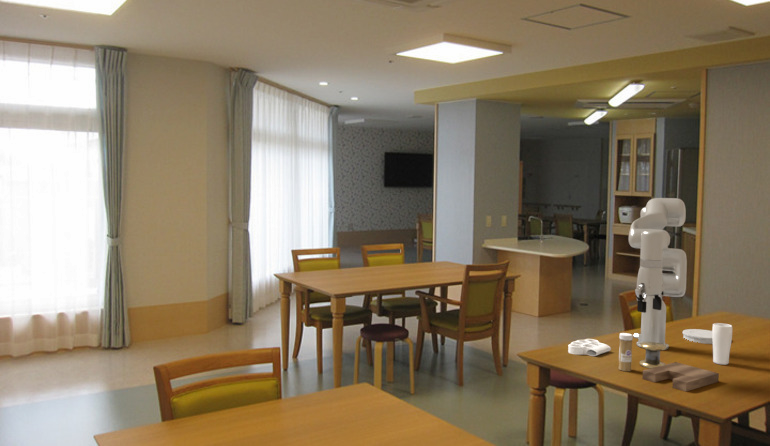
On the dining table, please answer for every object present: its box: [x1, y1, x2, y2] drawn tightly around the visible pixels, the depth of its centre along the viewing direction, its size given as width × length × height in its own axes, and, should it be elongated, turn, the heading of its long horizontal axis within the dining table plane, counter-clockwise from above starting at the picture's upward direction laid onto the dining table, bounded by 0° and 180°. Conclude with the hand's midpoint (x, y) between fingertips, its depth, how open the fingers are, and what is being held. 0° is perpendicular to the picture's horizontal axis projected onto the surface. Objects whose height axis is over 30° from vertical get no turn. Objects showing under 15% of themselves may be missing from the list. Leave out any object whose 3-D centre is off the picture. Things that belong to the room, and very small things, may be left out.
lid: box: [682, 328, 713, 345], centre depth 276 cm, size 17×20×3 cm
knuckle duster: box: [567, 338, 612, 357], centre depth 254 cm, size 3×18×15 cm
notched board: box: [642, 361, 720, 392], centre depth 216 cm, size 16×20×3 cm
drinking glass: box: [711, 322, 733, 366], centre depth 237 cm, size 7×7×15 cm
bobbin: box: [639, 342, 667, 369], centre depth 233 cm, size 9×9×8 cm
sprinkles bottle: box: [618, 332, 634, 372], centre depth 227 cm, size 5×5×13 cm
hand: (649, 310), depth 226 cm, fingers open, 9 cm apart
